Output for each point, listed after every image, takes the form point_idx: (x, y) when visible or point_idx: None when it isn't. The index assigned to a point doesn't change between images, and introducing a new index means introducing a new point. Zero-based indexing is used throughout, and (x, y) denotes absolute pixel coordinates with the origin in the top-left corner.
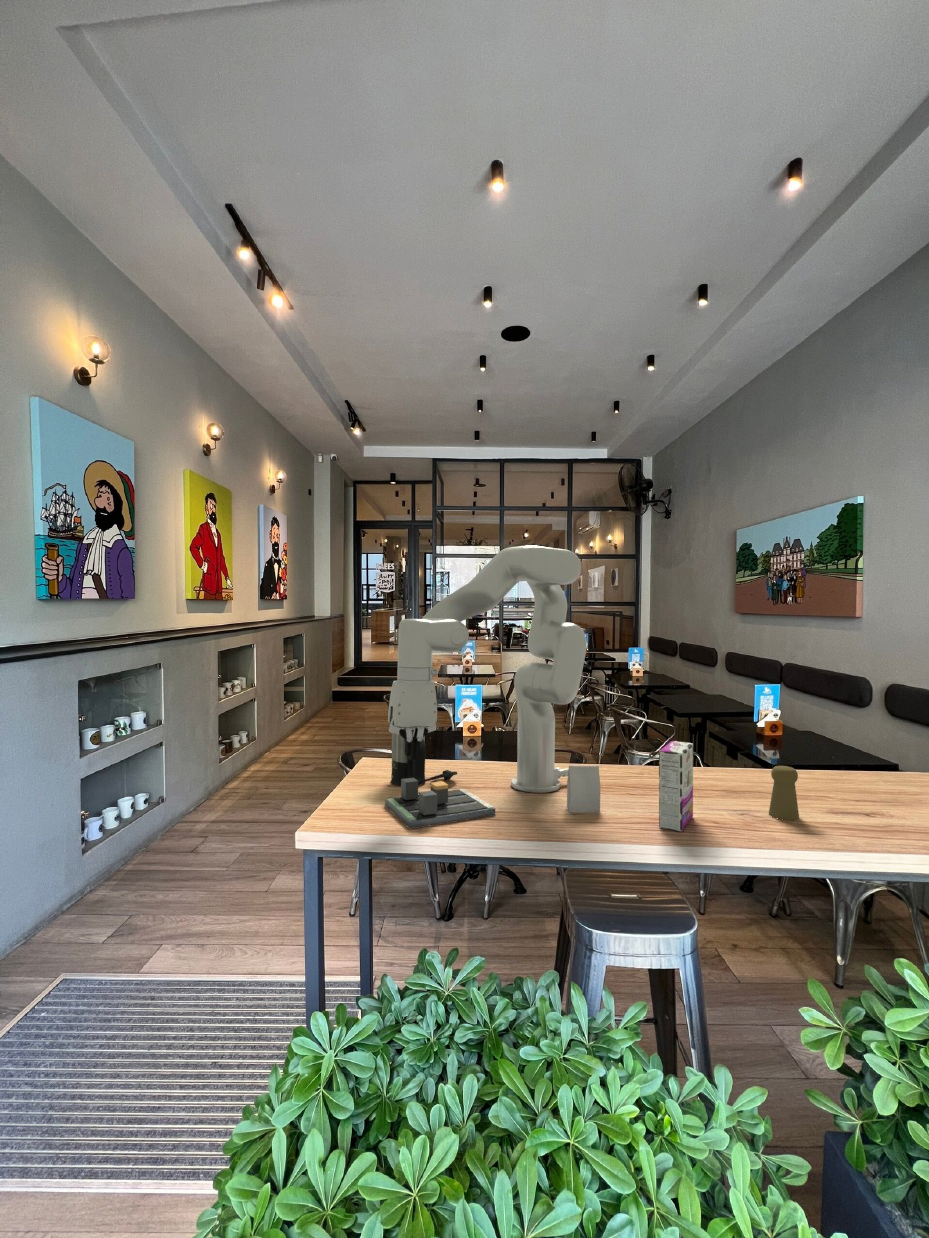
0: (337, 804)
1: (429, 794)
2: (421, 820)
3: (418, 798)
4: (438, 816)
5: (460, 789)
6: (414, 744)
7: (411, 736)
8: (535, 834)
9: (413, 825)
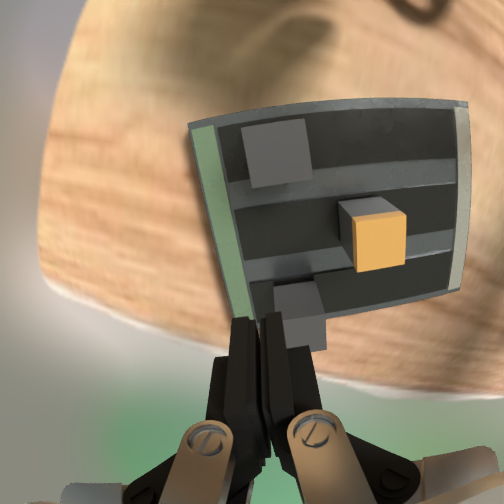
0: (65, 94)
1: (303, 345)
2: None
3: None
4: None
5: (458, 111)
6: (270, 449)
7: (246, 497)
8: (440, 372)
9: None
